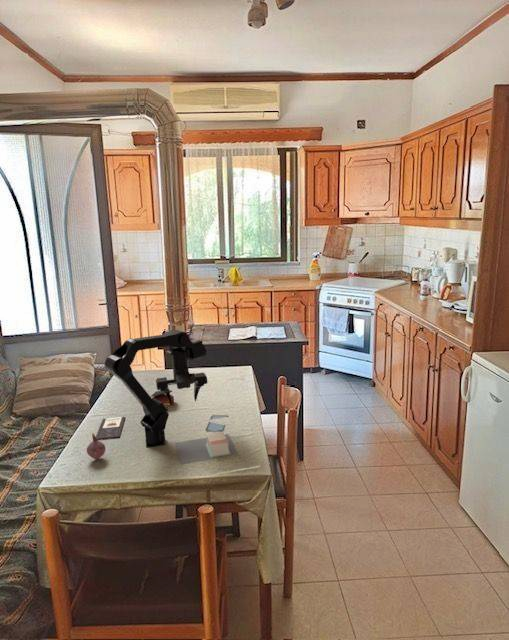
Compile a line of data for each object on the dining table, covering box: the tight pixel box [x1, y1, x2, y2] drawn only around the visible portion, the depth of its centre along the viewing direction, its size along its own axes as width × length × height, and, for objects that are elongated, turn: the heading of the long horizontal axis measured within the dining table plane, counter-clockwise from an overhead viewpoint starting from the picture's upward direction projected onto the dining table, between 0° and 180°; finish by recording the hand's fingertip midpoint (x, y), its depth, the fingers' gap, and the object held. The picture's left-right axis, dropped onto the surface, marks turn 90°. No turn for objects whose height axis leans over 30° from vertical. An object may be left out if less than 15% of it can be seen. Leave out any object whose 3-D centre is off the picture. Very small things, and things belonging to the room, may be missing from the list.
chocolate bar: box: [95, 416, 126, 440], centre depth 186 cm, size 9×1×18 cm
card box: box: [206, 431, 229, 456], centre depth 165 cm, size 9×6×4 cm, turn 15°
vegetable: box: [86, 433, 107, 460], centre depth 161 cm, size 6×6×10 cm
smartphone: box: [205, 414, 229, 433], centre depth 186 cm, size 7×1×15 cm
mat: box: [174, 433, 239, 465], centre depth 166 cm, size 20×16×1 cm
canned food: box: [150, 389, 175, 409], centre depth 207 cm, size 11×10×10 cm
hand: (183, 402), depth 178 cm, fingers open, 9 cm apart
